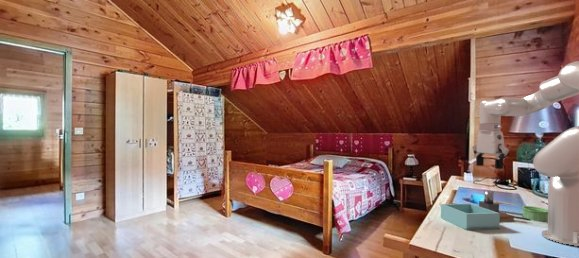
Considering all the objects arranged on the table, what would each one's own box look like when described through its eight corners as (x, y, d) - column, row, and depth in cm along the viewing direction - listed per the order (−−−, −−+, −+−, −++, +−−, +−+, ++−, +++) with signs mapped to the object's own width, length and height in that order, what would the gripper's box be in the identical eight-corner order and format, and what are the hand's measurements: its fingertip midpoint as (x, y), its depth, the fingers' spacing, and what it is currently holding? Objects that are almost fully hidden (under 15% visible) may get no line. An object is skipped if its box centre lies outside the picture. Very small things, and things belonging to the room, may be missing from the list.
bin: (499, 228, 104) (499, 213, 104) (466, 230, 102) (466, 214, 102) (470, 217, 118) (470, 203, 118) (440, 218, 116) (440, 204, 116)
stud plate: (513, 220, 114) (513, 209, 114) (488, 221, 112) (488, 210, 112) (489, 212, 126) (489, 202, 126) (465, 212, 124) (465, 202, 124)
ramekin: (517, 217, 120) (517, 207, 120) (528, 214, 123) (528, 205, 123) (543, 223, 112) (543, 212, 112) (554, 220, 115) (554, 210, 115)
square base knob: (498, 213, 117) (499, 192, 117) (488, 214, 116) (488, 192, 116) (488, 210, 122) (489, 189, 122) (478, 210, 121) (479, 190, 121)
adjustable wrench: (548, 212, 129) (548, 209, 129) (547, 215, 125) (547, 211, 125) (485, 201, 148) (485, 198, 148) (482, 203, 143) (482, 199, 143)
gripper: (516, 128, 111) (515, 170, 111) (480, 128, 128) (480, 164, 128) (499, 127, 110) (499, 170, 110) (466, 128, 127) (465, 164, 127)
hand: (489, 167), depth 119 cm, fingers open, 9 cm apart
